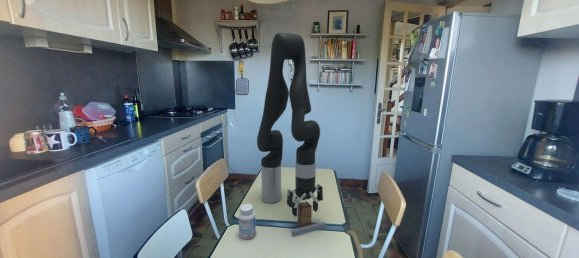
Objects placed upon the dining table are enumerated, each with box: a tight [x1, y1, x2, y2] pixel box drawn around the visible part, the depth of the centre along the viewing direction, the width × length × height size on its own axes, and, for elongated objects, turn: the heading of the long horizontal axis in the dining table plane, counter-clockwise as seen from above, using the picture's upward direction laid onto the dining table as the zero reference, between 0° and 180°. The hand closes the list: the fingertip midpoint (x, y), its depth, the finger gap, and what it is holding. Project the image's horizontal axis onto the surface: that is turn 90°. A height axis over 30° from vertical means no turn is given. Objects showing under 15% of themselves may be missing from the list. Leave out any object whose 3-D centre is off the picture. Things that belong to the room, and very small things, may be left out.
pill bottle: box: [238, 203, 257, 240], centre depth 89 cm, size 6×6×11 cm
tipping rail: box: [291, 221, 327, 237], centre depth 92 cm, size 1×14×2 cm, turn 113°
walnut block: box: [297, 200, 313, 228], centre depth 95 cm, size 4×4×9 cm
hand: (305, 213), depth 95 cm, fingers open, 8 cm apart
